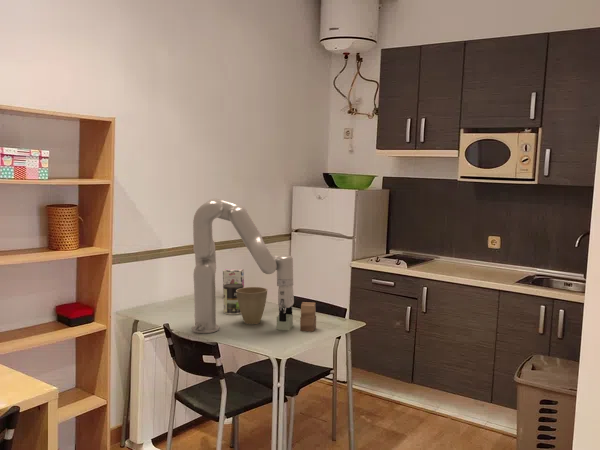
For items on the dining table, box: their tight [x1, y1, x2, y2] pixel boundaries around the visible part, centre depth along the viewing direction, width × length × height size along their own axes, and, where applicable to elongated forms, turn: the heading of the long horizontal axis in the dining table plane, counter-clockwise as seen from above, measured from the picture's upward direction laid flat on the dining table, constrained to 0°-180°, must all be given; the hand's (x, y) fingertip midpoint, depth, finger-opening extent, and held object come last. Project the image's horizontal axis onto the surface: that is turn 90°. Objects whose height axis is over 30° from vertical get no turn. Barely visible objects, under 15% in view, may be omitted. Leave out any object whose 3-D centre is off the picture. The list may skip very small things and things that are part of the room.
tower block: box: [300, 301, 317, 319], centre depth 272 cm, size 6×6×6 cm
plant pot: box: [236, 286, 268, 325], centre depth 284 cm, size 15×15×16 cm
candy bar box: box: [222, 268, 245, 300], centre depth 336 cm, size 11×5×16 cm, turn 81°
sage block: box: [276, 314, 294, 331], centre depth 275 cm, size 6×6×6 cm
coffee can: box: [222, 284, 243, 316], centre depth 304 cm, size 10×10×14 cm
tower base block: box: [299, 315, 317, 333], centre depth 273 cm, size 6×6×6 cm
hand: (285, 318), depth 275 cm, fingers open, 9 cm apart
